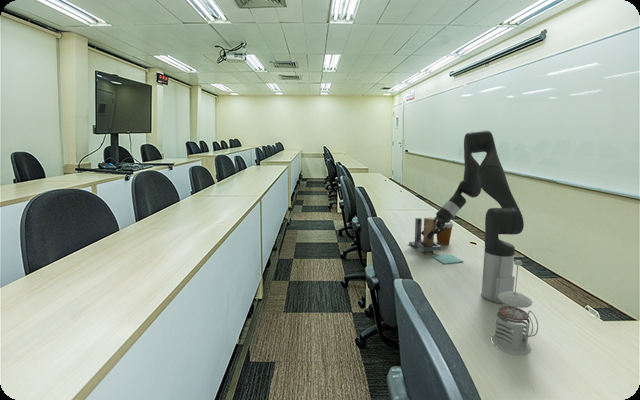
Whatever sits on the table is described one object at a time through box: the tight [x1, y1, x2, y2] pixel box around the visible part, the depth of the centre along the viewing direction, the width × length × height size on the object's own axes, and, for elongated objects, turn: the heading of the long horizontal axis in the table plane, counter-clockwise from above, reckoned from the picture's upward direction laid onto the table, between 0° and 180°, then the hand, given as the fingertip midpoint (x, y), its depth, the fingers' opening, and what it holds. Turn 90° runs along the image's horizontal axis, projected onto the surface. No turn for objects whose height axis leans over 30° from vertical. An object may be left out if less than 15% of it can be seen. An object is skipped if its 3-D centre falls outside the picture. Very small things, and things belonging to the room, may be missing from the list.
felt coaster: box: [431, 253, 464, 265], centre depth 149 cm, size 10×10×1 cm
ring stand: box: [408, 217, 442, 252], centre depth 162 cm, size 18×9×16 cm, turn 10°
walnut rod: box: [422, 217, 435, 255], centre depth 158 cm, size 5×5×18 cm
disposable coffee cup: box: [436, 221, 454, 246], centre depth 173 cm, size 10×10×12 cm
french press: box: [491, 259, 539, 356], centre depth 84 cm, size 10×12×25 cm
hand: (425, 236), depth 157 cm, fingers closed on walnut rod, 5 cm apart
